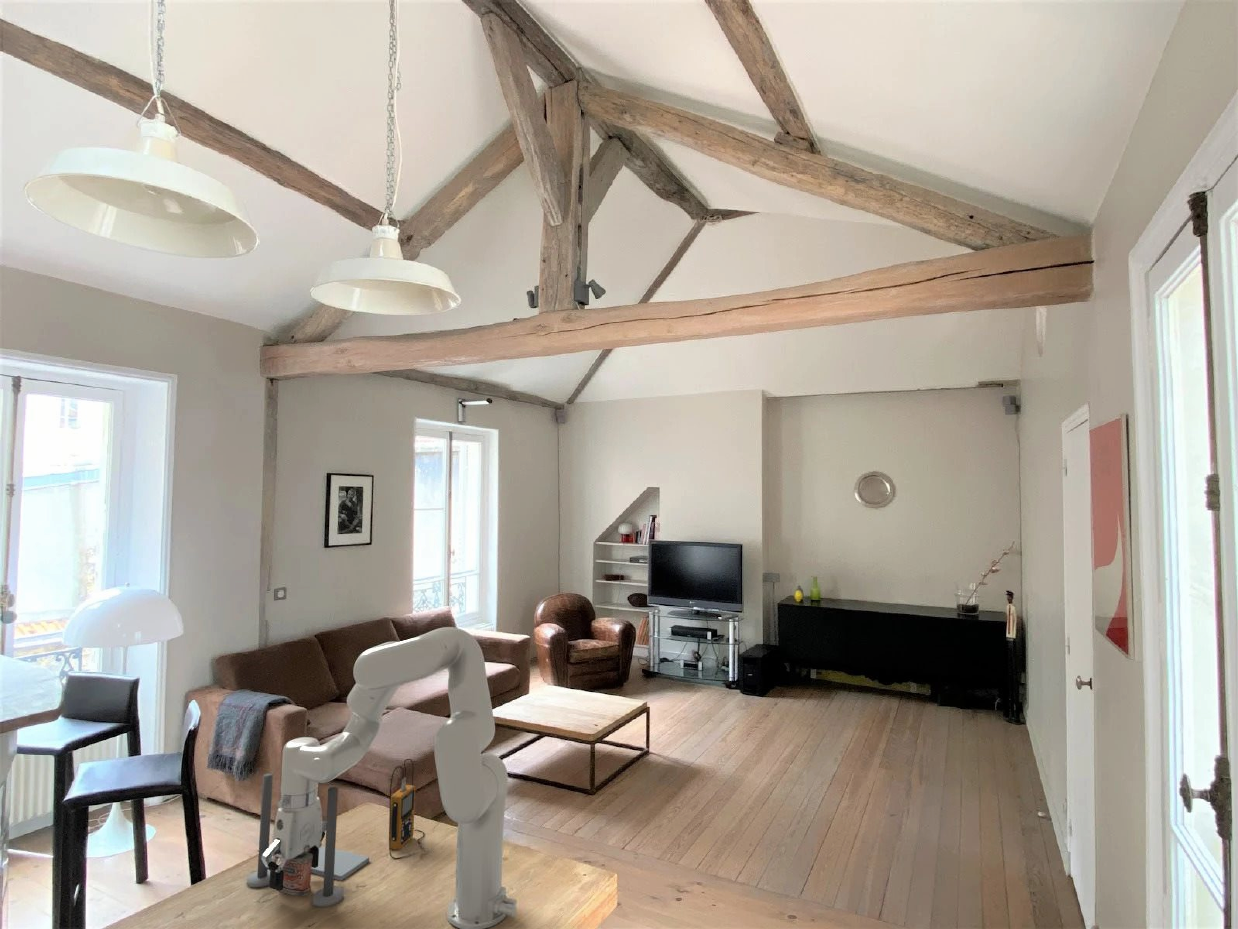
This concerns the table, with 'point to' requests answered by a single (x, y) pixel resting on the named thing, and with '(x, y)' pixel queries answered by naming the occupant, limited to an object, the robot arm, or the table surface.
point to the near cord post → (329, 857)
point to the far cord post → (263, 835)
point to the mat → (340, 863)
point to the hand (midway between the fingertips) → (294, 877)
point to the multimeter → (402, 815)
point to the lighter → (298, 874)
